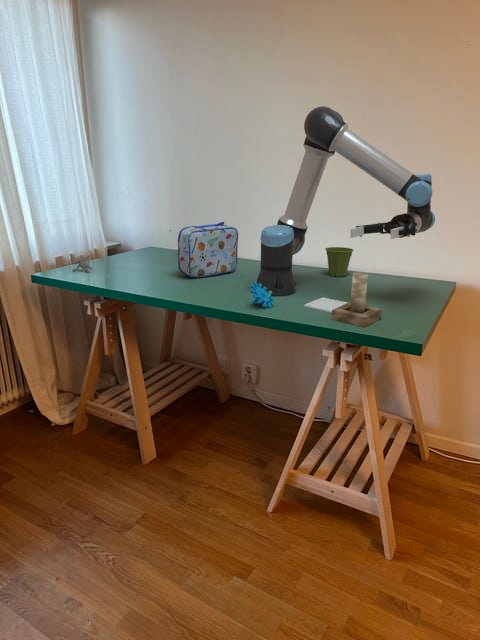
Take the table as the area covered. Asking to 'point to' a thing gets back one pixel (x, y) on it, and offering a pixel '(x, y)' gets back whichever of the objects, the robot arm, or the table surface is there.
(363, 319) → the pocket block
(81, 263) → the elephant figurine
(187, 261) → the lunch box
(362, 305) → the dowel
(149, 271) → the table surface
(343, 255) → the plant pot
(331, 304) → the pad
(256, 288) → the gear
